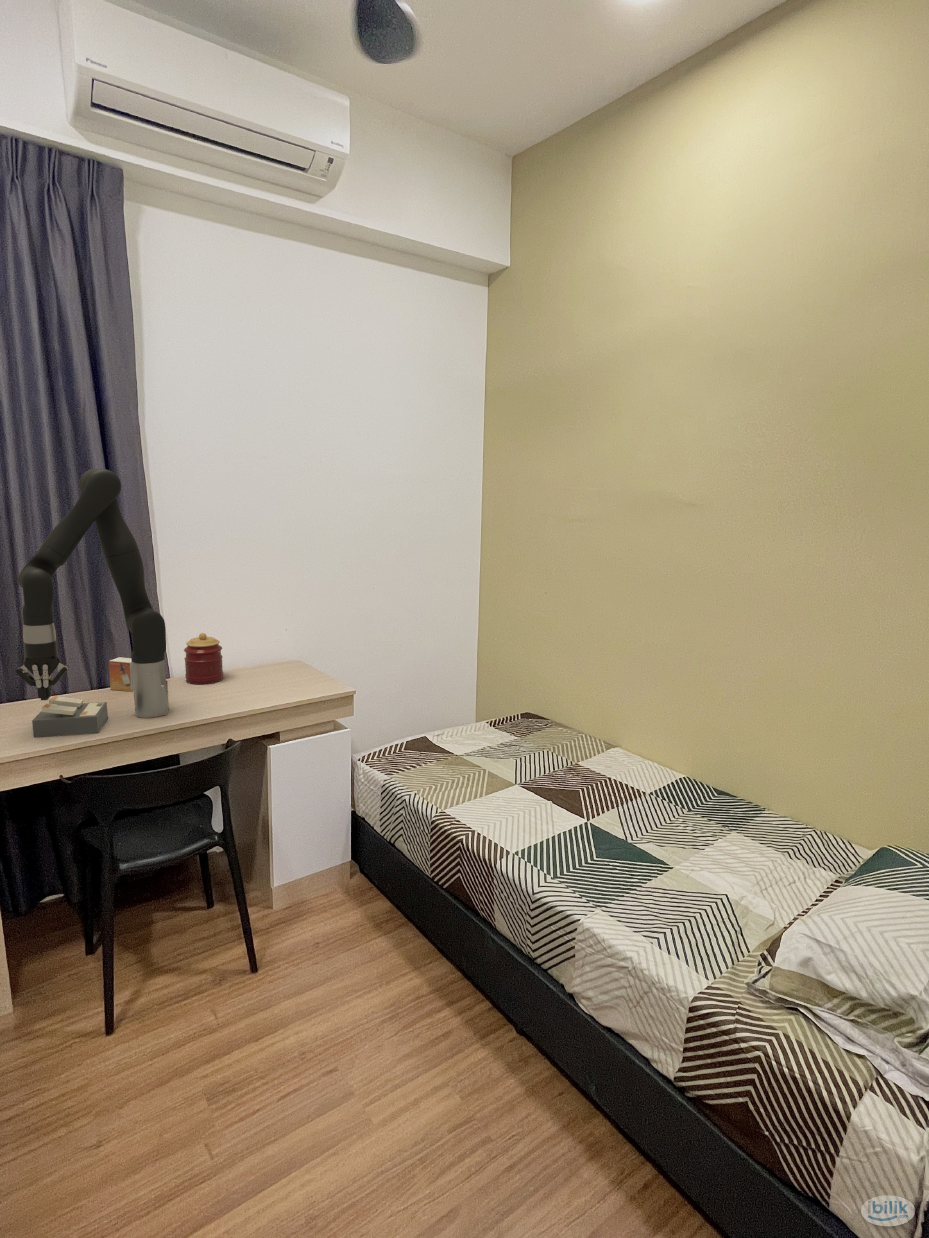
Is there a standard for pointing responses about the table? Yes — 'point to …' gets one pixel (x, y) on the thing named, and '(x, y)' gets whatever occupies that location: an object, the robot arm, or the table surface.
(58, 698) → the rocker
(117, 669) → the small box
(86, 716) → the box
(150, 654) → the robot arm
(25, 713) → the table surface
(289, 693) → the table surface
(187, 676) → the canister
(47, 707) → the rocker
